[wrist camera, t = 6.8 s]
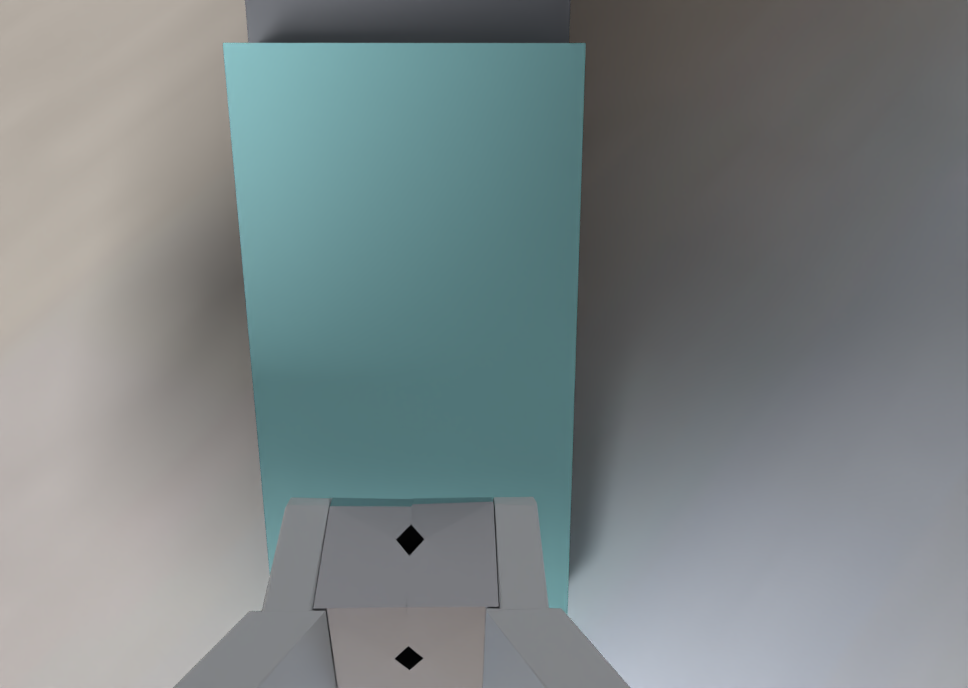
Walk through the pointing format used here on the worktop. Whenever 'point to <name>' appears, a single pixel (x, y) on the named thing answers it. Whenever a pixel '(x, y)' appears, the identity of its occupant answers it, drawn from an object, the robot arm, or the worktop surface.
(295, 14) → the domino
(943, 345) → the worktop surface
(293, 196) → the domino
